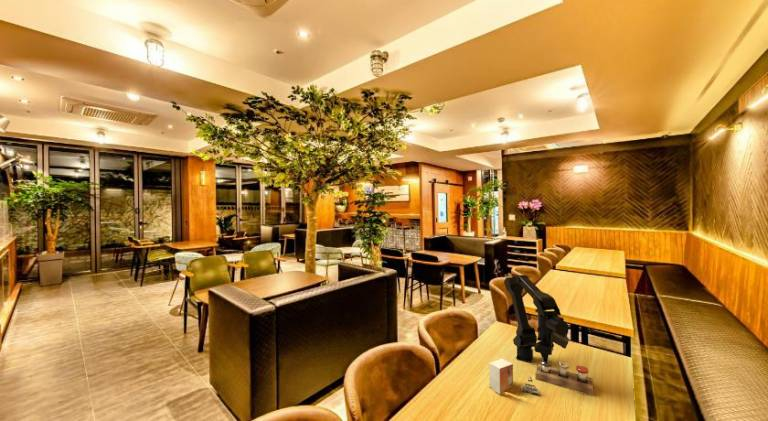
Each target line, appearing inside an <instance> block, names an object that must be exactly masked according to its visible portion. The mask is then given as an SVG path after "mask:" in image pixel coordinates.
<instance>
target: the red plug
mask: <svg viewBox="0 0 768 421" xmlns="http://www.w3.org/2000/svg"><path fill="white" fill-rule="evenodd" d="M575 369H576V372H577V374H578V382H582V383H586V384H587V375H588V373H589V368H588V367H586V366H584V365H576V367H575Z"/></svg>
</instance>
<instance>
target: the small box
mask: <svg viewBox="0 0 768 421" xmlns="http://www.w3.org/2000/svg"><path fill="white" fill-rule="evenodd" d="M513 367H514V363H512V362H510V361H508V360H506V359H504V358H500V359H496V360H494V361H491V362H488V368H489V369H488V370H489V371H488V376H489V378H488V379H489V380H488V382H489V383H488V384H489V387H488V388H489V389H491V390H492V391H494V392H495V393H497V394H498V395H502V394H504V393H507V391H506V390H508V389H510V388H512V387H514V368H513Z"/></svg>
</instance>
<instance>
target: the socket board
mask: <svg viewBox="0 0 768 421" xmlns="http://www.w3.org/2000/svg"><path fill="white" fill-rule="evenodd" d="M534 374H535V378H534V379H535V380H536V381H540V382H543V383H546V384H550V385H553V386H557V387H561V388H564V389H568V390H571V391H573V392H574V391H575V392H579V393H583V394H585V395H589V396H594V386H593V385H594V383H593V382H594V381H593V380H594V379H593V377H591V376H587V384H586V383H582V382H578V373H576V372H571V371H568V379H567V378H564V377H560V376H559V368H557V367H552V366H550V374H549V373H545V372H542V364H541V363H538V364H537V367H536V370H535V373H534Z"/></svg>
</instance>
